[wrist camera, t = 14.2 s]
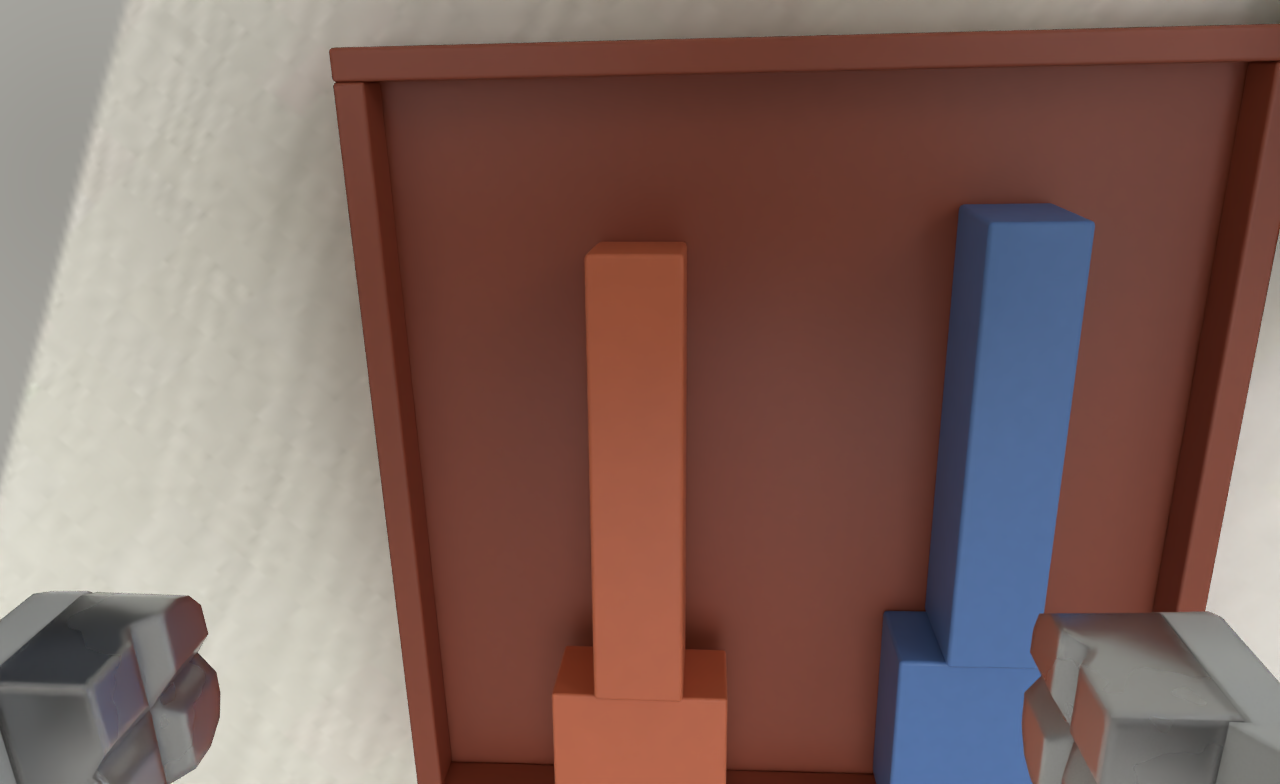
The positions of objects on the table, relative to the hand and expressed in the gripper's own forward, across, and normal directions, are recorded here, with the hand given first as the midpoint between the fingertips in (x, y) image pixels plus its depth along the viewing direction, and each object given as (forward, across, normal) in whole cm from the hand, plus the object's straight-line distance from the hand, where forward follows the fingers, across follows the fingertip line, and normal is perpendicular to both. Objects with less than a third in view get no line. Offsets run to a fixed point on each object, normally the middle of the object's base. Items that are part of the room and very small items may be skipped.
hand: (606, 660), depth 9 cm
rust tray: (+12, -3, +3) cm, 12 cm away
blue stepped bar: (+11, -7, +5) cm, 14 cm away
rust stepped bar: (+10, 0, +6) cm, 12 cm away
